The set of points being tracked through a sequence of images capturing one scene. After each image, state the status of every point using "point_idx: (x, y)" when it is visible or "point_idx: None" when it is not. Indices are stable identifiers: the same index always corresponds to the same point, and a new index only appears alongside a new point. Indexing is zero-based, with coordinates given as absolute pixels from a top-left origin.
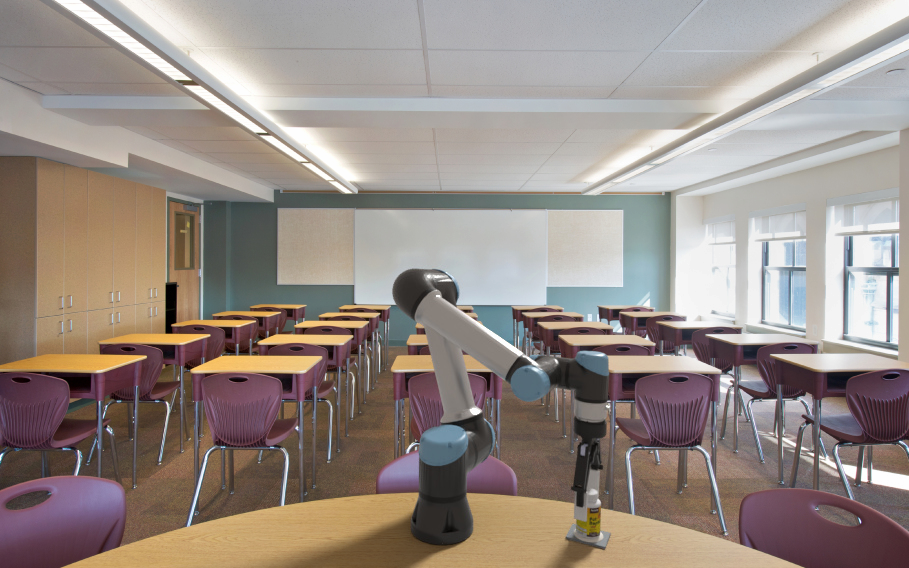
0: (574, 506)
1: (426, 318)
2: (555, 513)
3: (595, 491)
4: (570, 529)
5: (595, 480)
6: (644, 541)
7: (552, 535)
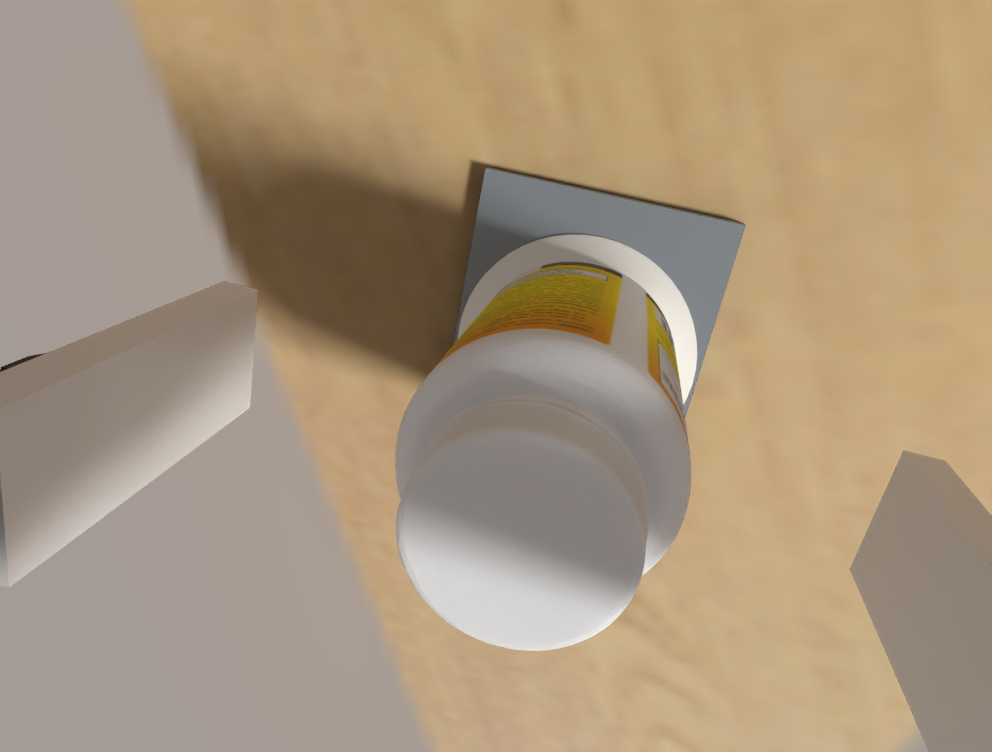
0: (140, 319)
1: None
2: (986, 27)
3: (529, 629)
4: (622, 206)
5: (939, 690)
6: (622, 703)
7: (511, 46)
